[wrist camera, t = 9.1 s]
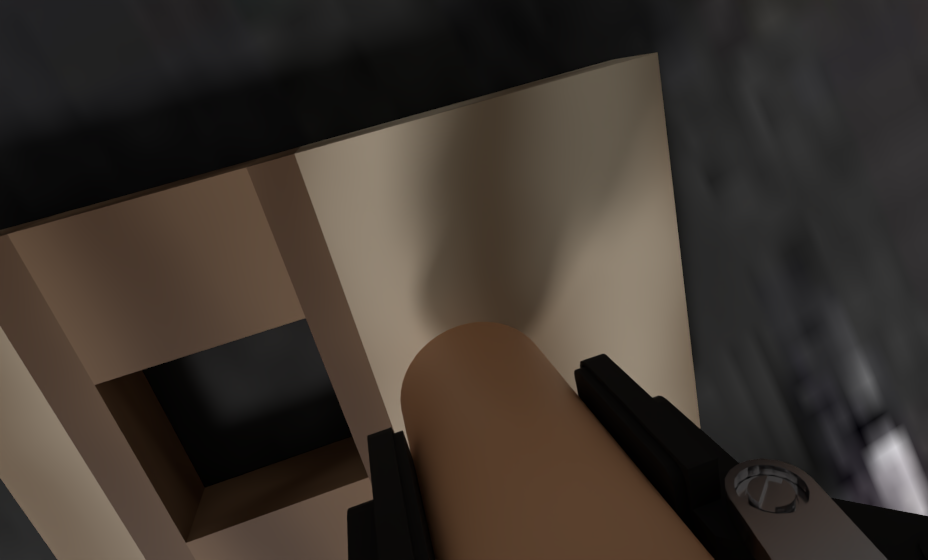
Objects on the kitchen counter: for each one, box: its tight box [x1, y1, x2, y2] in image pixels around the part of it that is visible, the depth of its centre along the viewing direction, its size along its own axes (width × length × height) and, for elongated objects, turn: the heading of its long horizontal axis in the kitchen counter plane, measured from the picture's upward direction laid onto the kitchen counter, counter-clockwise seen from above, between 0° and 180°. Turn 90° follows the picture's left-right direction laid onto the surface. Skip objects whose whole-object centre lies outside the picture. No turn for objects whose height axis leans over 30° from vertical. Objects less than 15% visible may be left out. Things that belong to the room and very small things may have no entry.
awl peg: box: [400, 322, 715, 560], centre depth 10 cm, size 4×4×10 cm
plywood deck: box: [0, 52, 700, 560], centre depth 17 cm, size 20×14×2 cm
